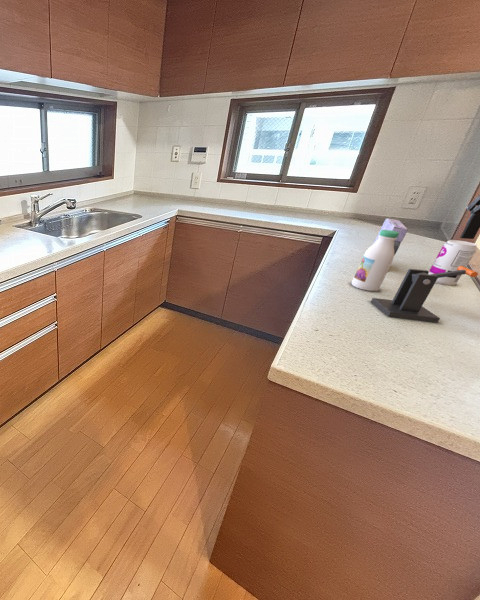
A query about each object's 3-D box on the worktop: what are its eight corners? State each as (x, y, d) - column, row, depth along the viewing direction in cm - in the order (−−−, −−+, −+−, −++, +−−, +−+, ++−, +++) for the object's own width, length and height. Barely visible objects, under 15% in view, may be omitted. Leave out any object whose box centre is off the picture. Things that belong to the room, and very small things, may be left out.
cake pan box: (388, 272, 128) (409, 228, 120) (372, 269, 131) (392, 226, 123) (380, 259, 143) (399, 219, 135) (366, 257, 145) (383, 217, 137)
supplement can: (424, 280, 121) (445, 241, 114) (426, 275, 126) (446, 238, 119) (454, 287, 116) (479, 247, 109) (455, 282, 121) (479, 243, 114)
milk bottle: (377, 286, 115) (403, 230, 106) (379, 293, 109) (408, 235, 100) (350, 281, 119) (373, 227, 110) (351, 287, 113) (376, 231, 104)
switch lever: (463, 271, 92) (464, 263, 91) (477, 278, 87) (478, 269, 86) (408, 279, 96) (408, 272, 95) (419, 286, 92) (419, 278, 91)
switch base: (415, 307, 101) (436, 268, 95) (437, 322, 92) (462, 281, 86) (370, 301, 103) (388, 264, 98) (388, 316, 95) (409, 276, 89)
